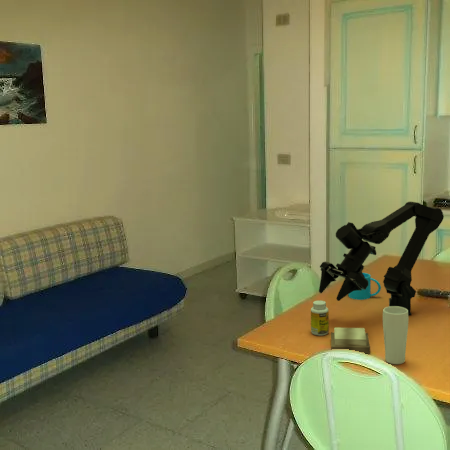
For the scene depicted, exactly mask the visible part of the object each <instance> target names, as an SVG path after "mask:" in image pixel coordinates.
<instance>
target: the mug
mask: <svg viewBox="0 0 450 450" xmlns="http://www.w3.org/2000/svg"><path fill="white" fill-rule="evenodd" d="M362 273H363V275H364V277H365V278H366V279H367V280H368V287H367V288H366V289H365V290H364V289H362V290H361V291H360V290H356V291H352V292H351V293H349V294H348V295H347V296H348V297H349V298H350V299H351V300H352V299H353V300H358V301H359V300H360V301H362V300H363V301H364V300H369V299H370V298H371V297H375V296H377V295H378V294H379V293H380V292H381V290H382V289H381V288H382V286H381V283H380V282H379V281H378V280H377V279H375V278H373V277H372V275H371V273H367V272H362ZM372 282H374V283H375V284H376V285H377V287H378V288H377V291H376V292H374V293H371V292H372V291H371V290H372V288H371V287H372V285H371V283H372Z"/></svg>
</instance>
